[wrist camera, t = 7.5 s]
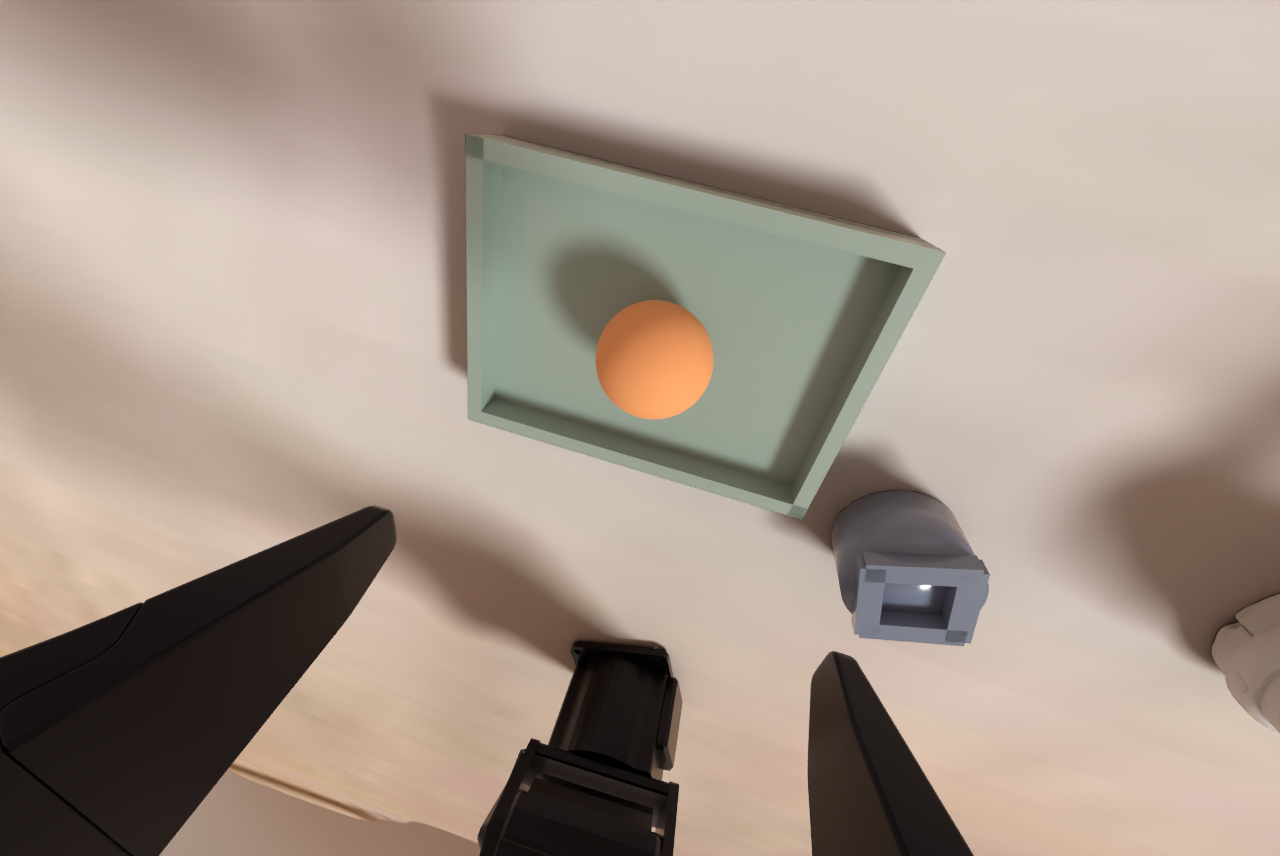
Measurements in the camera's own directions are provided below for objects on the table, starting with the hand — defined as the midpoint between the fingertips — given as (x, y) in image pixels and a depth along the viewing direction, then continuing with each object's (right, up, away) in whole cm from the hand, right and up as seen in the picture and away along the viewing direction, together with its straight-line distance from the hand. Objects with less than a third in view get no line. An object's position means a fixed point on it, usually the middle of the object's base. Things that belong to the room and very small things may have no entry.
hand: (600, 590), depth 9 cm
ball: (+1, +5, +7) cm, 9 cm away
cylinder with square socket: (+12, -2, +12) cm, 17 cm away
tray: (+2, +7, +9) cm, 12 cm away
